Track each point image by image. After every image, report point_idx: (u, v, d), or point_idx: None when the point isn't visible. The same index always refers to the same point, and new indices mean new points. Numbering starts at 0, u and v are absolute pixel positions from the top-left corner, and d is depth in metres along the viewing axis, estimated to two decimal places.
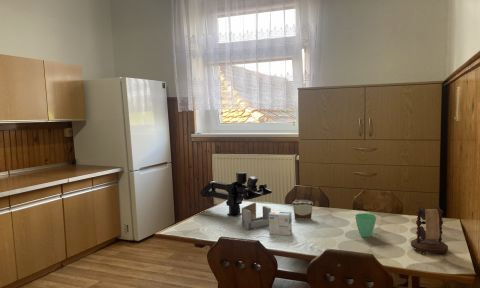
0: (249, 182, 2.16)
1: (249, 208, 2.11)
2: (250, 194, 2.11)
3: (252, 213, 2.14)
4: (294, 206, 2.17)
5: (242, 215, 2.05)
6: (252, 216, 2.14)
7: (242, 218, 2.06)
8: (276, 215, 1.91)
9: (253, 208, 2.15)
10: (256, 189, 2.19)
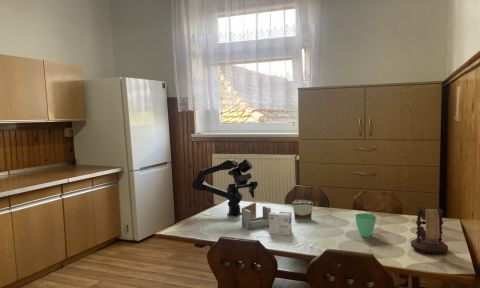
0: (240, 178, 2.18)
1: (249, 208, 2.11)
2: (234, 191, 2.18)
3: (252, 213, 2.14)
4: (294, 206, 2.17)
5: (242, 215, 2.05)
6: (252, 216, 2.14)
7: (242, 218, 2.06)
8: (276, 215, 1.91)
9: (253, 208, 2.15)
10: (245, 184, 2.22)
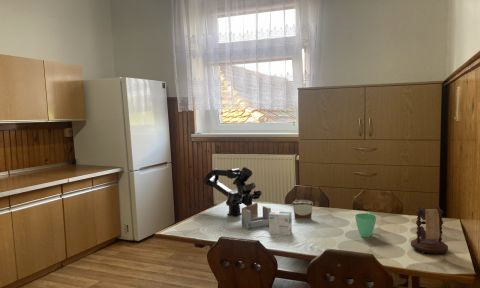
0: (244, 188, 2.15)
1: (250, 208, 2.10)
2: (243, 200, 2.16)
3: (253, 213, 2.13)
4: (294, 206, 2.17)
5: (242, 215, 2.05)
6: (253, 216, 2.13)
7: (242, 218, 2.06)
8: (276, 215, 1.91)
9: (255, 208, 2.14)
10: None
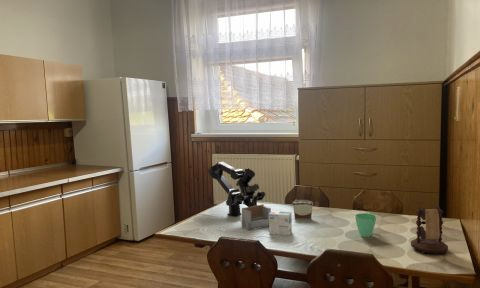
0: (247, 189, 2.11)
1: (253, 209, 2.08)
2: (246, 201, 2.13)
3: (258, 215, 2.10)
4: (294, 206, 2.17)
5: (242, 215, 2.05)
6: None
7: (242, 218, 2.06)
8: (276, 215, 1.91)
9: (260, 209, 2.11)
10: None
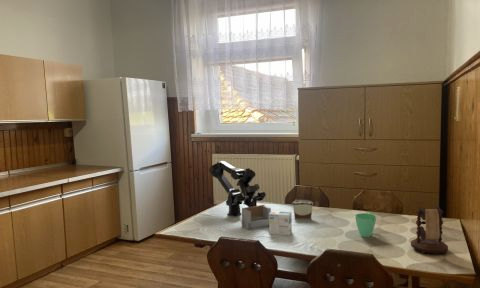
0: (248, 189, 2.11)
1: (253, 209, 2.08)
2: (247, 201, 2.12)
3: (258, 215, 2.09)
4: (294, 206, 2.17)
5: (242, 215, 2.05)
6: None
7: (242, 218, 2.06)
8: (276, 215, 1.91)
9: (261, 210, 2.10)
10: None
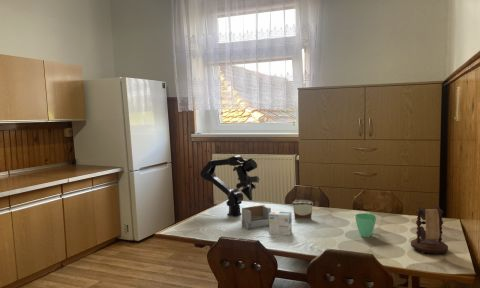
0: (252, 179, 2.18)
1: (253, 209, 2.08)
2: (245, 189, 2.18)
3: (258, 215, 2.09)
4: (294, 206, 2.17)
5: (242, 215, 2.05)
6: None
7: (242, 218, 2.06)
8: (276, 215, 1.91)
9: (261, 210, 2.10)
10: (248, 185, 2.23)
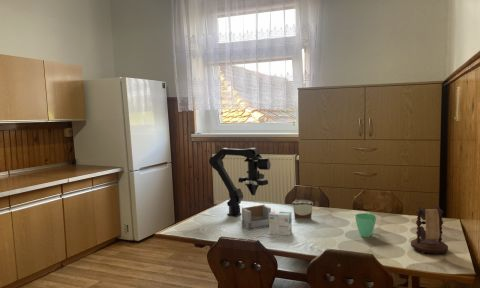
0: (261, 176, 2.25)
1: (253, 209, 2.08)
2: None
3: (258, 215, 2.09)
4: (294, 206, 2.17)
5: (242, 215, 2.05)
6: None
7: (242, 218, 2.06)
8: (276, 215, 1.91)
9: (261, 210, 2.10)
10: None
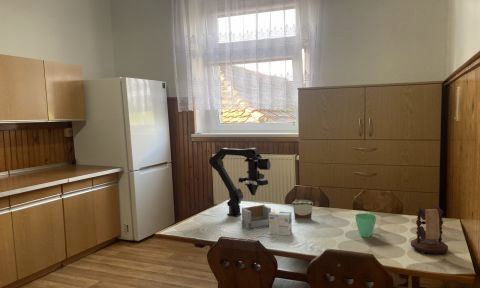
0: (261, 176, 2.25)
1: (253, 209, 2.08)
2: None
3: (258, 215, 2.09)
4: (294, 206, 2.17)
5: (242, 215, 2.05)
6: None
7: (242, 218, 2.06)
8: (276, 215, 1.91)
9: (261, 210, 2.10)
10: None
